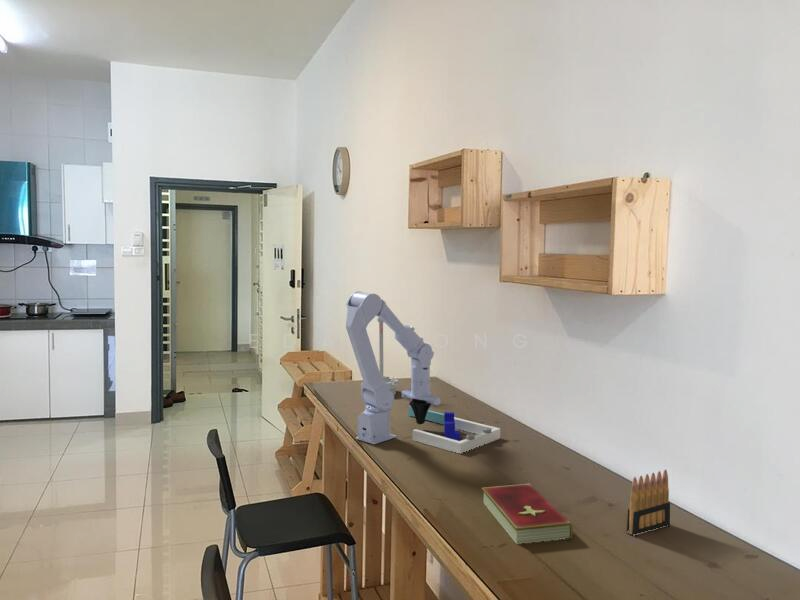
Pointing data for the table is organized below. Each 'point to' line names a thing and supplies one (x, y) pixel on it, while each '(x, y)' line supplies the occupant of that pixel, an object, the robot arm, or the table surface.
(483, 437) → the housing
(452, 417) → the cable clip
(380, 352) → the flag stand
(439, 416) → the gate
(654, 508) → the ammunition clip
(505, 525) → the hardcover book
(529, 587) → the table surface
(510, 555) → the table surface
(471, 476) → the table surface
